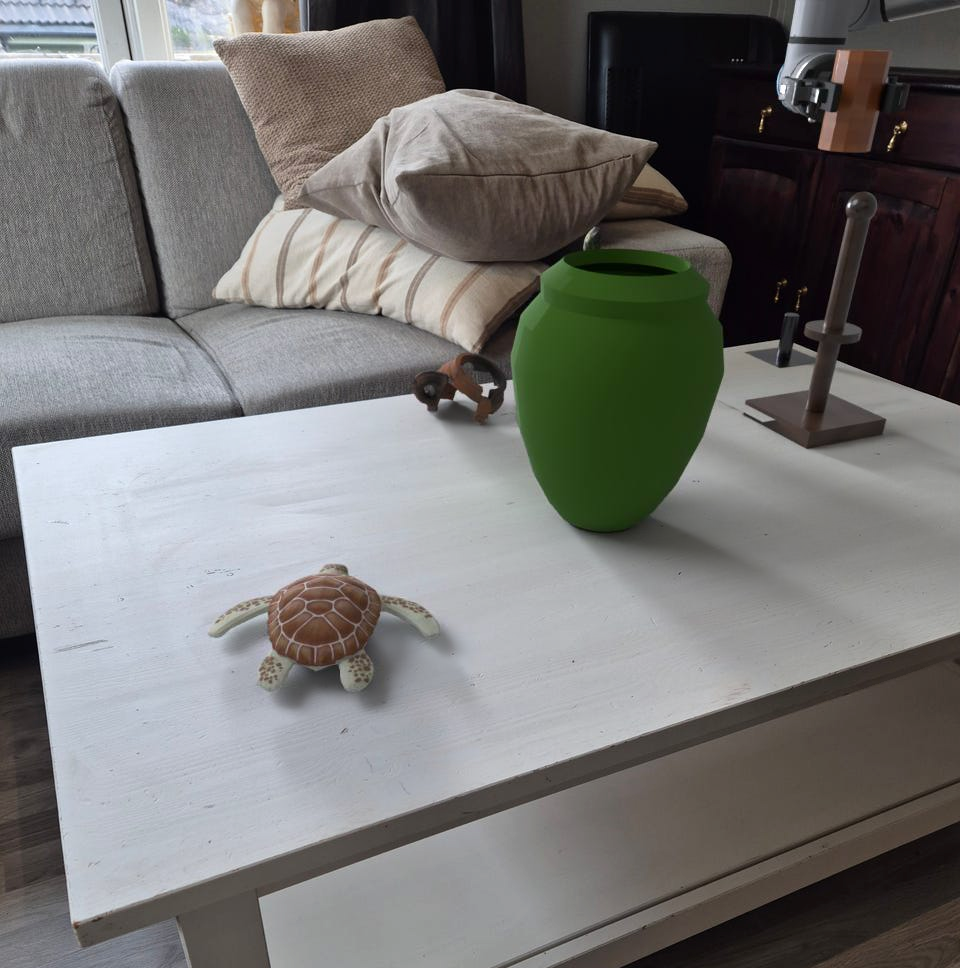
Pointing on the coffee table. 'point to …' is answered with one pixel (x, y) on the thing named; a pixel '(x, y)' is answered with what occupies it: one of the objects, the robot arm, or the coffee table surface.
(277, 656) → the decorative turtle
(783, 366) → the low peg
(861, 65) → the octagonal wooden sleeve
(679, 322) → the vase
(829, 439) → the brown peg stand
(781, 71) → the robot arm
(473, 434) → the coffee table surface
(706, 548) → the coffee table surface
